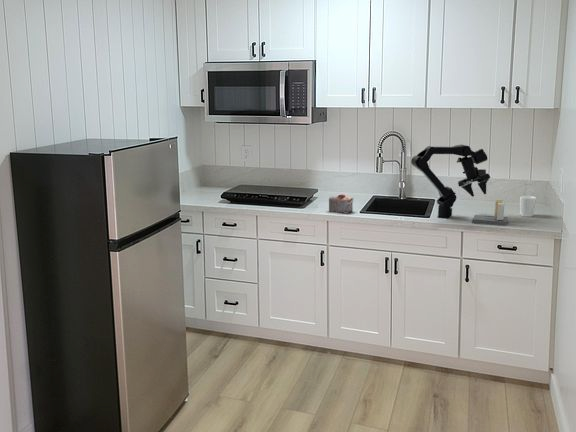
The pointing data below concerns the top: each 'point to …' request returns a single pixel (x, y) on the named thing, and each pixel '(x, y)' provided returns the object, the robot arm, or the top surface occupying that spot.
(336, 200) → the food item
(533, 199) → the white cup
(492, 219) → the grey slotted board
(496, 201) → the amber slider
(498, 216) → the grey slider
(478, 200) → the top surface
